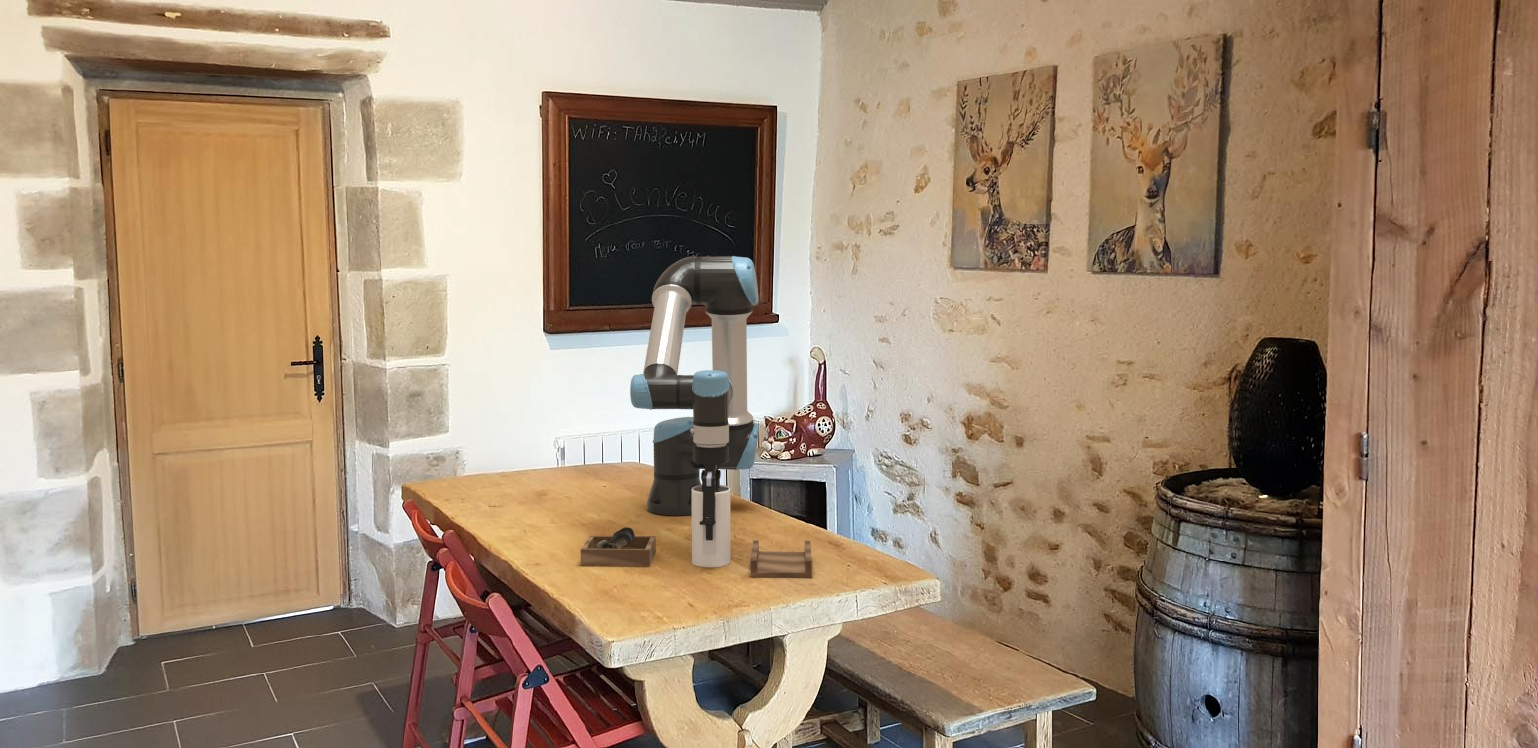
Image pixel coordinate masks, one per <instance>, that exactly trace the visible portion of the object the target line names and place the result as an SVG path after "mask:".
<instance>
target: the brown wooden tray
mask: <svg viewBox="0 0 1538 748" xmlns="http://www.w3.org/2000/svg"><path fill="white" fill-rule="evenodd" d="M759 542H760V541H759V539H753V540H752V547H751V557H750V578H776V579H777V578H778V579H779V578H787V579H790V578H797V579H798V578H799V579H803V578H804V579H805V578H806V579H811V578H812V570H813V568H812V565H813V562H812V561H813V560H812V544H811V540H804V551H771V550H770V551H761V550H760V545H759V544H760V543H759Z"/></svg>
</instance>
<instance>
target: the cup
mask: <svg viewBox="0 0 1538 748" xmlns="http://www.w3.org/2000/svg"><path fill="white" fill-rule="evenodd" d="M715 496H716V510H715V521H716V523H715V524H716V555H703V525H700V521H702V519H703V492H702V484H701V485H699V486H695V487H693V488H692V514H691V563H692V565H695V566H696V567H700V568H719V567H725V566H728V565H729V564H731V488H730V487H729V486H727V485H723V484H720V487H719V488H718V492H715ZM706 518H711V517H706Z"/></svg>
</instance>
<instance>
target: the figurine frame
mask: <svg viewBox="0 0 1538 748" xmlns="http://www.w3.org/2000/svg"><path fill="white" fill-rule="evenodd" d="M612 537H613V535H589V537H588V538H587V539H586V541H585V542H584V544H583V545H582V547H581V548H580V566H581V565H600V566H599V567H650V566H651V564H652V562H653V559H654V557H655V555H656V552H657V548H656V547H657V545H656V543H657V542H656V541H657V540H656V539H657V538H656V537H657V536H655V535H634V538H633V539H634V540H633V541H632V542H630V543H627V544H626V546H625V548H624V549H597V544H598V543H599V542H601V541H603V540H607V541H608V542H609V543H611V540H612ZM622 547H623V546H622ZM654 554H655V555H654ZM601 565H603V566H601ZM605 565H606V566H605Z"/></svg>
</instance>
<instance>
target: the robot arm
mask: <svg viewBox="0 0 1538 748" xmlns="http://www.w3.org/2000/svg"><path fill="white" fill-rule="evenodd" d="M756 273H757V272H756V269H755V264H754V262H753V261H752V259H750V258H749V257H743V256H735V255H732V256H729V255H726V256H723V255H722V256H721V255H720V256H687V257H684V258H681V259H679V260H677V261H675V262H674V263H672V264H671V265H669V266H668V267H667V268H666V269H665V270H664V271H663V272H662V273H661V275H660V276H659V277H658V279H657V281H656V283H655V285H654V287H653V291H652V295H651V302H652V306H653V308H654V309H653V315H652V321H651V327H650V330H649V331H650V332H649V338H648V344H647V349H646V353H645V354H646V356H645V361H644V366H643V367H644V368H643V371H642V372H643V373H640V374H634V375H633V376H632V377H631V380H630V388H629V389H630V391H629V396H630V403H631V405H632V407H633V408H635V409H642V410H643V409H645V410H650V411H651V410H692V411H693V412H692V416H682V417H681V416H680V417H676V418H675V417H674V418H669V419H665V420H662V421H660V422H658V423H657V424H655V426H654V429H653V439H652V443H653V482H652V484H651V488H650V492H649V494H648V497H647V502H646V503H647V504H646V507H647V509H646V510H647V511H648V512H650V513H652V514H655V515H661V516H689V515H691V516H692V488H693V487H695V486H699V485H702V492H703V519H702V521H700V525H703V555H716V524H715V523H716V521H715V510H716V496H715V492H718V488H719V487H720V485H721V474H722V473H721V472H722V471H721V470H732V471H733V470H734V471H738V470H739V471H740V470H750V469H751V468H753V467H754V465H755V462H756V461H755V460H756V454H757V446H758V440H759V433H760V432H759V430H760V424H758V423H756V422H754V415H753V414H752V413H750V411H748V357H747V356H748V353H747V352H748V350H747V349H748V346H747V344H748V343H747V338H748V337H747V333H748V331H747V319H748V318H749V316H750V315H751V314H753V307H754V306H757V305H758V304H759V289H758V279H757V274H756ZM692 305H702V306H703V305H704V306H705V308H704V309H705V313H706V315H708V316H709V318H710V319H711V351H712V352H711V355H712V357H711V358H712V369H708V370H698V371H696V372H694V374H693V375H692V374H689V375H686V374H684V375H683V374H678V372H679V364H680V358H681V357H680V356H681V351H682V346H683V345H682V344H683V338H684V331H685V330H684V329H685V323H686V316H687V313H688V312H689V310H690V309H691V308H692ZM700 470H702V471H701V472H700ZM706 517H711V518H706Z"/></svg>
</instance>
